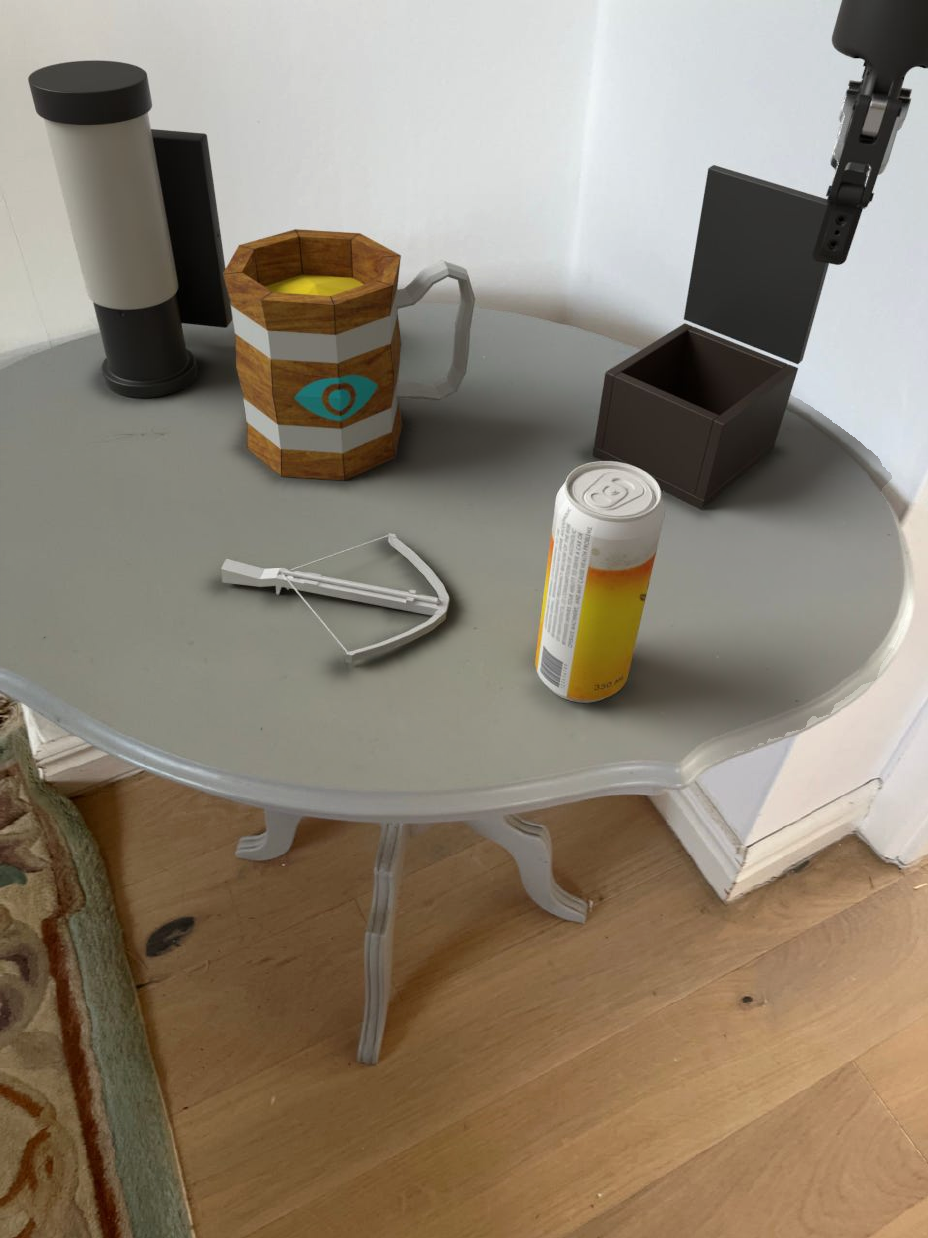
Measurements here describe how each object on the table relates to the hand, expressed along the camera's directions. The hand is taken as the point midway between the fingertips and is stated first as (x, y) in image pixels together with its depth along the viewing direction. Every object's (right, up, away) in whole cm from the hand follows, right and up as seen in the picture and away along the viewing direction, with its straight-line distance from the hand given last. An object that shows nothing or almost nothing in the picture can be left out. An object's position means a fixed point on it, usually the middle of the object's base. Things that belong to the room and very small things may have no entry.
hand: (832, 239), depth 68 cm
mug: (-35, -11, +15) cm, 39 cm away
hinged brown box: (-7, -12, +15) cm, 20 cm away
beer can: (-18, -30, -4) cm, 36 cm away
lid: (-3, +1, +7) cm, 8 cm away
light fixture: (-54, -3, +22) cm, 59 cm away
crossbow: (-35, -25, 0) cm, 43 cm away
